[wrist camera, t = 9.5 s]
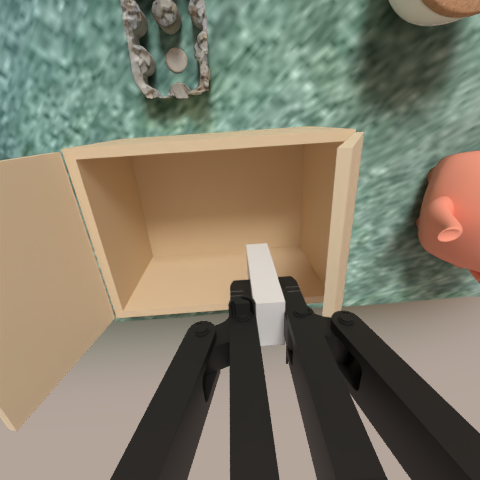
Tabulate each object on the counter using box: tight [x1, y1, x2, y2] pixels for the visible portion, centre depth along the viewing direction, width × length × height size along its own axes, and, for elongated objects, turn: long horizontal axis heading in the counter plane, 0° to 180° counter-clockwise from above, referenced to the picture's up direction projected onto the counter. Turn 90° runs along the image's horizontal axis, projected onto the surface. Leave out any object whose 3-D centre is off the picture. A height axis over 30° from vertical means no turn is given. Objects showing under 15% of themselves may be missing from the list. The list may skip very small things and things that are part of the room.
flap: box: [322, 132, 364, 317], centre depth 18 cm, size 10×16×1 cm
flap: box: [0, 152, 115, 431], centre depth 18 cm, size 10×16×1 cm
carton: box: [62, 126, 356, 318], centre depth 28 cm, size 22×16×12 cm
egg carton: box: [121, 0, 211, 99], centre depth 25 cm, size 11×8×4 cm
